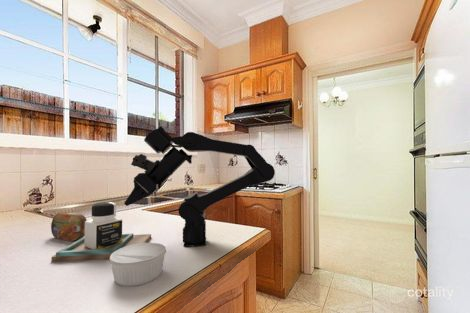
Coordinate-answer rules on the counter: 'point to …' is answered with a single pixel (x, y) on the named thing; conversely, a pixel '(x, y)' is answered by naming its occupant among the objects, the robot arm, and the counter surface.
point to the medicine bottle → (103, 227)
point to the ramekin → (137, 263)
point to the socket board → (84, 253)
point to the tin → (68, 226)
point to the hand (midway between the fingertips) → (129, 202)
